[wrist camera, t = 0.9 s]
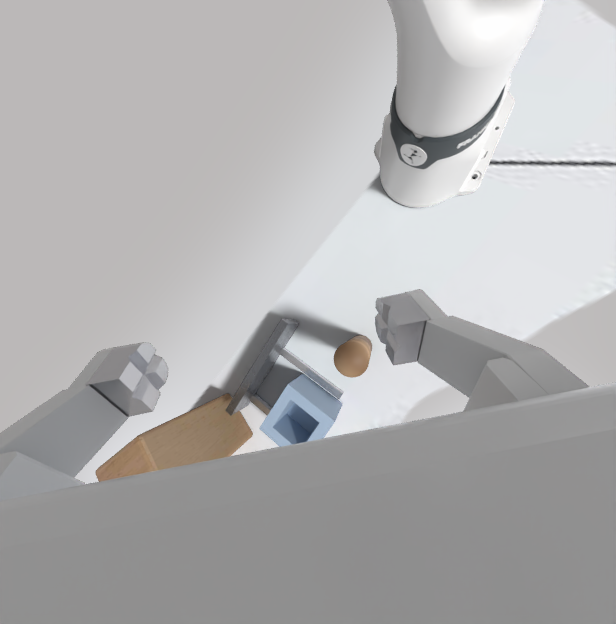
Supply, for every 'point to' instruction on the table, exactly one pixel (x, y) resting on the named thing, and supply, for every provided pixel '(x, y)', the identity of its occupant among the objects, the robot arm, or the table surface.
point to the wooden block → (181, 442)
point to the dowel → (353, 356)
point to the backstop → (264, 366)
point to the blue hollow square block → (301, 413)
